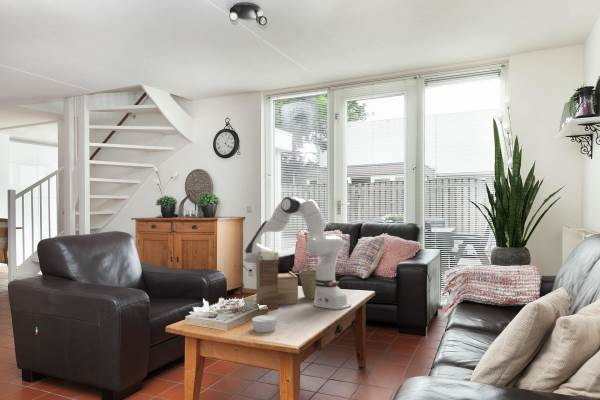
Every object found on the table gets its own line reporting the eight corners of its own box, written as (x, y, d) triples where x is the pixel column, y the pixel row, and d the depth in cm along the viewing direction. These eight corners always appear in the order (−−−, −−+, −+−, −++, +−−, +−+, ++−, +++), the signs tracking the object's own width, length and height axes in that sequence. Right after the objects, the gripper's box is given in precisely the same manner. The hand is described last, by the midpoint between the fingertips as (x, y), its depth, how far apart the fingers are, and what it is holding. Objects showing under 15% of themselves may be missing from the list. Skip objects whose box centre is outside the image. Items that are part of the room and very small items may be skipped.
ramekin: (253, 334, 186) (253, 322, 186) (250, 327, 196) (250, 315, 197) (278, 332, 188) (278, 320, 188) (274, 325, 199) (274, 314, 199)
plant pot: (323, 300, 252) (323, 273, 252) (298, 300, 252) (298, 273, 253) (322, 295, 267) (322, 269, 267) (299, 295, 267) (299, 269, 267)
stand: (302, 307, 233) (302, 257, 234) (259, 310, 228) (259, 259, 228) (290, 295, 266) (290, 251, 266) (252, 297, 260) (252, 252, 261)
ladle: (274, 260, 229) (274, 251, 229) (263, 260, 228) (263, 252, 228) (268, 255, 253) (268, 247, 253) (257, 255, 252) (257, 247, 252)
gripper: (243, 256, 260) (245, 247, 249) (276, 255, 265) (279, 246, 253) (244, 266, 257) (246, 257, 245) (277, 265, 262) (280, 256, 250)
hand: (263, 251), depth 249 cm, fingers closed on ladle, 3 cm apart
